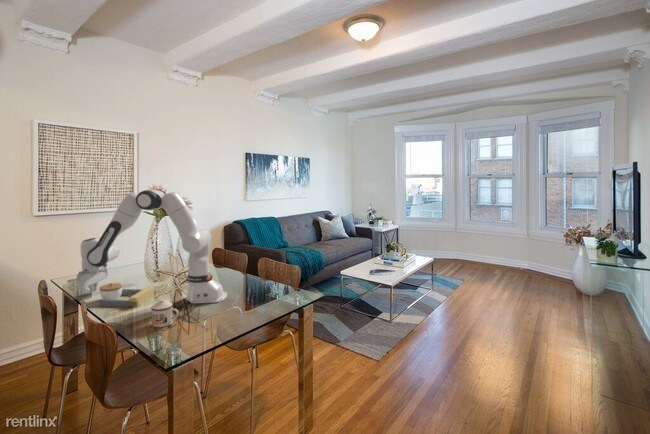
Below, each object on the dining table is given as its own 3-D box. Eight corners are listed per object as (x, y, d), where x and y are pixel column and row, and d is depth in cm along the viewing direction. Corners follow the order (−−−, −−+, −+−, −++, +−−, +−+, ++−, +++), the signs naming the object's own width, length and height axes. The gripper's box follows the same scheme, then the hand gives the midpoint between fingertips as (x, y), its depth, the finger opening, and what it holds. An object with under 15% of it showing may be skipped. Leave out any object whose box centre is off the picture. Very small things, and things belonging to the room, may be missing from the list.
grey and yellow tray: (155, 294, 196) (155, 286, 196) (137, 306, 178) (136, 297, 178) (120, 293, 197) (120, 285, 196) (98, 305, 179) (98, 296, 179)
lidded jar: (99, 298, 189) (98, 282, 188) (122, 294, 196) (121, 279, 194) (101, 304, 181) (99, 287, 179) (124, 300, 187) (123, 284, 186)
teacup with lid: (148, 328, 155) (147, 303, 153) (157, 319, 164) (156, 296, 162) (175, 327, 155) (174, 303, 154) (182, 319, 164) (181, 296, 163)
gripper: (83, 272, 176) (85, 298, 178) (109, 262, 196) (111, 285, 198) (71, 272, 176) (73, 297, 178) (99, 262, 196) (100, 285, 198)
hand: (93, 291), depth 188 cm, fingers closed
